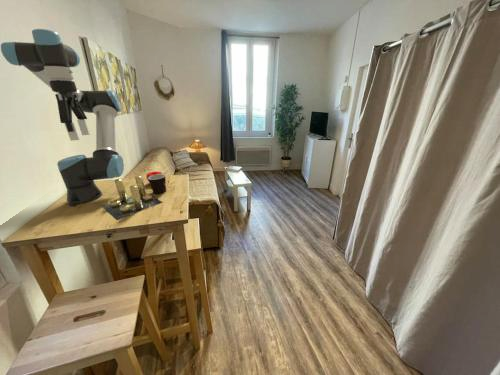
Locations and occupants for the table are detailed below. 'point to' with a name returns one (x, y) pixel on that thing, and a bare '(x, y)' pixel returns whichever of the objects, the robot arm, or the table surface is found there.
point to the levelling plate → (119, 215)
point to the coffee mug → (158, 183)
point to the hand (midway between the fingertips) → (81, 137)
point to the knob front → (136, 200)
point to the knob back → (121, 193)
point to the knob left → (142, 189)
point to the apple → (152, 174)
